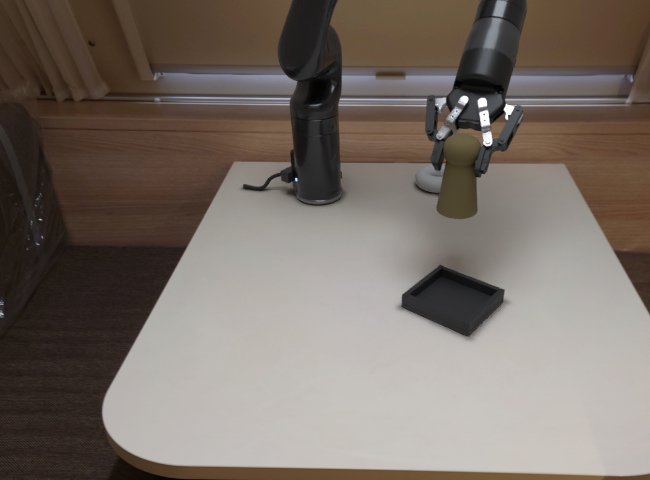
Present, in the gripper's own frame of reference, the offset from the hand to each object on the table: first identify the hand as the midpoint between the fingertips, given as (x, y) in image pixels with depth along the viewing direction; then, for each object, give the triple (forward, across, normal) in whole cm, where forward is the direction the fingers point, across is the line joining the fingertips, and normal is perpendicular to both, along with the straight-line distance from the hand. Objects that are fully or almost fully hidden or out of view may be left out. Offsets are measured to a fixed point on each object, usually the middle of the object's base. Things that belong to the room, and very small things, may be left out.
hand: (456, 171), depth 80 cm
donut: (-12, -14, +40) cm, 44 cm away
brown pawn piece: (+4, 0, +6) cm, 7 cm away
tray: (+17, +2, +12) cm, 20 cm away
